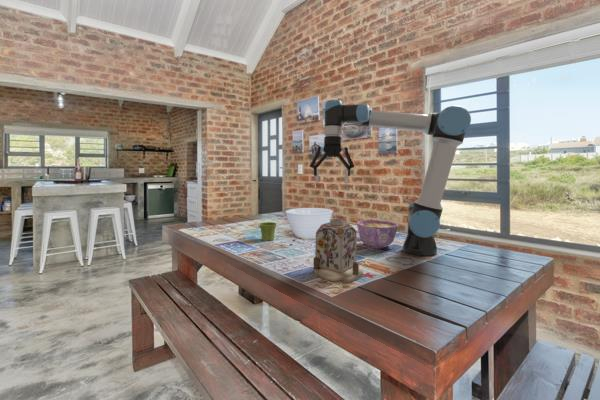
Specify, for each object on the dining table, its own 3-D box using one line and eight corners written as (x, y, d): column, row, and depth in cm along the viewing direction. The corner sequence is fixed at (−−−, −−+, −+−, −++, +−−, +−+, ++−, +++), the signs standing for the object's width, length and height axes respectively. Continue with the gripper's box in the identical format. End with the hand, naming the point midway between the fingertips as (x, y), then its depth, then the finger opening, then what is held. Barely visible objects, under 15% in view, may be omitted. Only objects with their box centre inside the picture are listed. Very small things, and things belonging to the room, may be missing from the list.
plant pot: (268, 242, 165) (268, 226, 164) (255, 240, 170) (255, 223, 169) (280, 239, 172) (280, 223, 171) (267, 236, 178) (267, 221, 177)
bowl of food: (387, 254, 146) (388, 229, 145) (348, 247, 158) (349, 223, 157) (403, 245, 162) (404, 223, 160) (366, 239, 174) (367, 218, 172)
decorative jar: (330, 259, 130) (331, 215, 128) (356, 265, 123) (358, 219, 121) (313, 267, 120) (314, 220, 118) (341, 273, 113) (342, 223, 111)
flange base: (354, 264, 130) (354, 250, 130) (369, 280, 113) (370, 264, 112) (309, 266, 128) (309, 251, 127) (318, 282, 110) (318, 265, 109)
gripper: (356, 137, 150) (355, 182, 152) (304, 136, 146) (303, 182, 149) (362, 136, 142) (360, 183, 145) (306, 134, 139) (306, 183, 141)
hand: (331, 183), depth 147 cm, fingers open, 13 cm apart
